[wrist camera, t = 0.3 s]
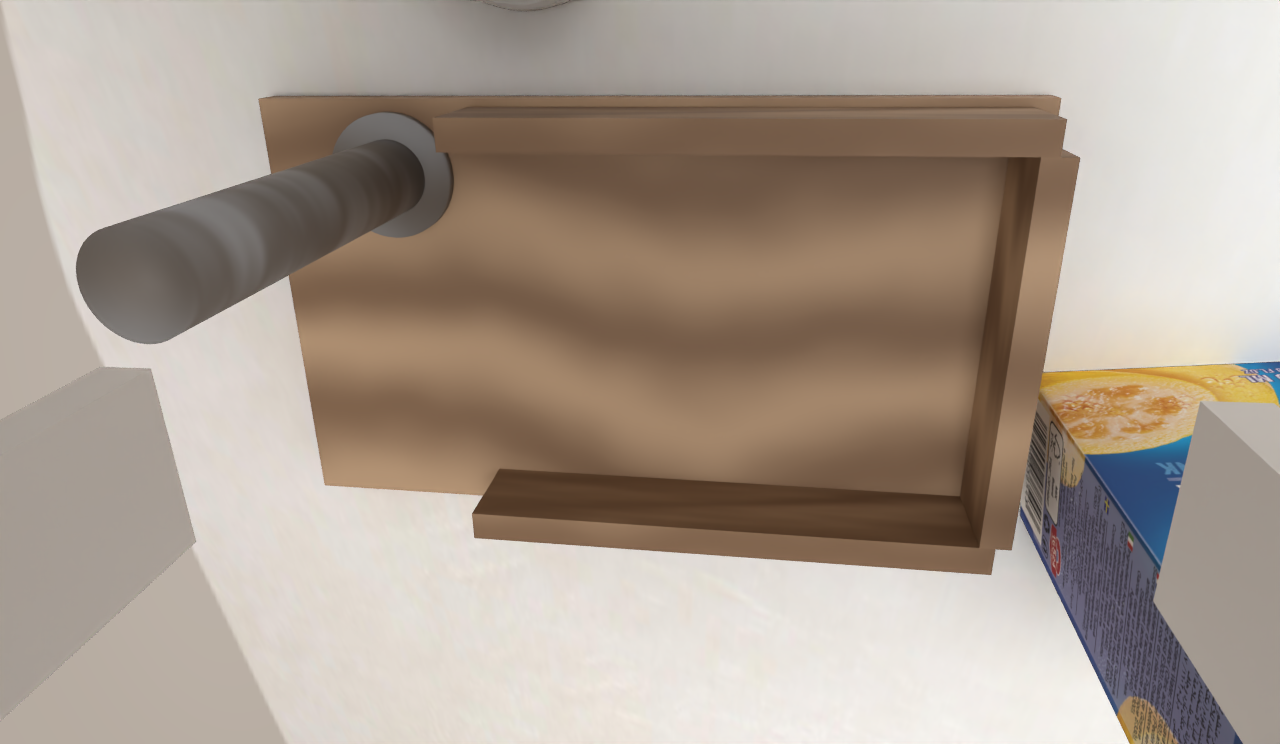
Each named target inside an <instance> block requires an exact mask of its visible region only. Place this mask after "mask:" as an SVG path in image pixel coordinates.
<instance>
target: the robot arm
mask: <svg viewBox="0 0 1280 744" xmlns="http://www.w3.org/2000/svg"><path fill="white" fill-rule="evenodd" d="M195 542H196V539H195V535H194V532H193V528H192V524H191V520H190V516H189V512H188V509H187V505H186V501H185V497H184V493H183V490H182V486H181V482H180V478H179V474H178V470H177V467H176V463H175V459H174V455H173V451H172V448H171V444H170V440H169V436H168V432H167V428H166V425H165V421H164V417H163V413H162V409H161V406H160V402H159V398H158V394H157V390H156V386H155V383H154V379H153V375H152V371H151V369H148V368H116V367H99V368H97V369H95V370H93V371H91V372H90V373H88V374H86V375H84V376H82V377H80V378H78V379H76V380H74V381H73V382H71V383H69V384H67V385H65V386H63V387H61V388H59V389H57V390H56V391H54V392H52V393H50V394H48V395H47V396H44V397H42V398H40V399H39V400H37V401H35V402H33V403H31V404H29V405H27V406H25V407H24V408H22V409H20V410H18V411H16V412H14V413H12V414H10V415H8V416H7V417H5V418H3V419H1V420H0V721H1V720H3V719H4V718H5V717H6V716H7V715H8V714H9V713H10V712H11V711H12V710H13V709H15V708H16V707H17V706H18V705H19V704H20V703H21V702H22V701H23V700H24V699H25V698H26V697H28V696H29V695H30V694H31V693H32V692H33V691H34V690H35V689H36V688H37V687H38V686H39V685H41V684H42V683H43V682H44V681H45V680H46V679H47V678H48V677H49V676H51V675H52V674H53V673H54V672H55V671H56V670H57V669H58V668H59V667H60V666H61V665H62V664H64V663H65V661H67V660H68V659H69V658H70V657H71V656H72V655H73V654H74V653H75V652H77V651H78V650H79V649H80V648H81V647H82V646H83V645H84V644H85V643H86V642H88V641H89V640H90V639H91V638H92V637H93V636H94V635H95V634H96V633H97V632H98V631H99V630H101V629H102V628H103V627H104V626H105V625H106V624H107V623H108V622H109V621H110V620H111V619H113V618H114V617H115V616H116V615H117V614H118V613H119V612H120V611H121V610H122V609H123V608H125V607H126V606H127V605H128V604H129V603H130V602H131V601H132V600H133V599H134V598H135V597H137V596H138V595H139V594H140V593H141V592H142V591H143V590H144V589H145V588H146V587H147V586H148V585H150V583H152V582H153V581H154V580H155V579H156V578H157V577H158V576H159V575H161V574H162V573H163V572H164V571H165V570H166V569H167V568H168V567H169V566H170V565H171V564H173V563H174V562H175V561H176V560H177V559H178V558H179V557H180V556H181V555H182V554H183V553H185V552H186V551H187V550H188V549H189V548H190V547H191V546H192V545H193V544H194V543H195ZM1153 602H1154V603H1155V605H1156V607H1157V608H1158V610H1159V611H1160V613H1161V614H1162V616H1163V618H1164V619H1165V621H1166V622H1167V624H1168V626H1169V627H1170V629H1171V630H1172V632H1173V633H1174V635H1175V637H1176V638H1177V640H1178V641H1179V643H1180V645H1181V646H1182V648H1183V649H1184V651H1185V652H1186V654H1187V656H1188V657H1189V659H1190V660H1191V662H1192V664H1193V665H1194V667H1195V668H1196V670H1197V672H1198V673H1199V675H1200V676H1201V678H1202V679H1203V681H1204V683H1205V684H1206V686H1207V687H1208V689H1209V691H1210V692H1211V694H1212V695H1213V697H1214V698H1215V700H1216V702H1217V703H1218V705H1219V706H1220V708H1221V710H1222V711H1223V713H1224V714H1225V716H1226V717H1227V719H1228V721H1229V722H1230V724H1231V725H1232V727H1233V729H1234V730H1235V732H1236V733H1237V735H1238V736H1239V738H1240V740H1241V741H1242V743H1243V744H1280V408H1279V407H1278V406H1277V405H1276V404H1274V403H1249V402H1217V401H1200V405H1199V409H1198V413H1197V417H1196V422H1195V426H1194V430H1193V434H1192V438H1191V443H1190V447H1189V451H1188V455H1187V460H1186V464H1185V468H1184V472H1183V477H1182V481H1181V485H1180V489H1179V493H1178V498H1177V502H1176V506H1175V510H1174V515H1173V519H1172V523H1171V527H1170V532H1169V536H1168V540H1167V544H1166V548H1165V553H1164V557H1163V561H1162V565H1161V570H1160V574H1159V578H1158V582H1157V587H1156V591H1155V595H1154V599H1153Z"/></svg>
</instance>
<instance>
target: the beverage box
mask: <svg viewBox="0 0 1280 744" xmlns="http://www.w3.org/2000/svg"><path fill="white" fill-rule="evenodd" d="M1200 401H1217V402H1249V403H1274V404H1276V405H1277V406H1278V407H1279V408H1280V362H1266V363H1244V364H1222V365H1200V366H1178V367H1156V368H1134V369H1112V370H1090V371H1068V372H1047V373H1042V379H1041V385H1040V391H1039V396H1038V402H1037V408H1036V413H1035V419H1034V425H1033V431H1032V436H1031V442H1030V448H1029V453H1028V459H1027V465H1026V471H1025V476H1024V482H1023V488H1022V493H1021V503H1020V516H1021V518H1022V520H1023V522H1024V524H1025V526H1026V528H1027V531H1028V533H1029V535H1030V537H1031V539H1032V541H1033V543H1034V545H1035V547H1036V549H1037V551H1038V553H1039V556H1040V558H1041V560H1042V562H1043V564H1044V566H1045V568H1046V570H1047V572H1048V574H1049V576H1050V578H1051V580H1052V583H1053V585H1054V587H1055V589H1056V591H1057V593H1058V595H1059V597H1060V599H1061V601H1062V603H1063V605H1064V608H1065V610H1066V612H1067V614H1068V616H1069V618H1070V620H1071V622H1072V624H1073V626H1074V628H1075V630H1076V633H1077V635H1078V637H1079V639H1080V641H1081V643H1082V645H1083V647H1084V649H1085V651H1086V653H1087V655H1088V657H1089V660H1090V662H1091V664H1092V666H1093V668H1094V670H1095V672H1096V674H1097V676H1098V678H1099V680H1100V682H1101V685H1102V687H1103V689H1104V691H1105V693H1106V695H1107V697H1108V699H1109V701H1110V703H1111V705H1112V707H1113V710H1114V712H1115V714H1116V716H1117V718H1118V720H1119V722H1120V724H1121V726H1122V728H1123V730H1124V732H1125V734H1126V737H1127V739H1128V741H1129V743H1130V744H1243V743H1242V741H1241V740H1240V738H1239V736H1238V735H1237V733H1236V732H1235V730H1234V729H1233V727H1232V725H1231V724H1230V722H1229V721H1228V719H1227V717H1226V716H1225V714H1224V713H1223V711H1222V710H1221V708H1220V706H1219V705H1218V703H1217V702H1216V700H1215V698H1214V697H1213V695H1212V694H1211V692H1210V691H1209V689H1208V687H1207V686H1206V684H1205V683H1204V681H1203V679H1202V678H1201V676H1200V675H1199V673H1198V672H1197V670H1196V668H1195V667H1194V665H1193V664H1192V662H1191V660H1190V659H1189V657H1188V656H1187V654H1186V652H1185V651H1184V649H1183V648H1182V646H1181V645H1180V643H1179V641H1178V640H1177V638H1176V637H1175V635H1174V633H1173V632H1172V630H1171V629H1170V627H1169V626H1168V624H1167V622H1166V621H1165V619H1164V618H1163V616H1162V614H1161V613H1160V611H1159V610H1158V608H1157V607H1156V605H1155V603H1154V602H1153V599H1154V595H1155V591H1156V587H1157V582H1158V578H1159V574H1160V570H1161V565H1162V561H1163V557H1164V553H1165V548H1166V544H1167V540H1168V536H1169V532H1170V527H1171V523H1172V519H1173V515H1174V510H1175V506H1176V502H1177V498H1178V493H1179V489H1180V485H1181V481H1182V477H1183V472H1184V468H1185V464H1186V460H1187V455H1188V451H1189V447H1190V443H1191V438H1192V434H1193V430H1194V426H1195V422H1196V417H1197V413H1198V409H1199V405H1200Z"/></svg>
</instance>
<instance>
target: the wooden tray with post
mask: <svg viewBox="0 0 1280 744" xmlns="http://www.w3.org/2000/svg"><path fill="white" fill-rule="evenodd" d="M1060 103H1061V98H1059V97H1056V96H1053V95H817V96H272V97H266V98H260V99H259V105H260V111H261V117H262V122H263V128H264V134H265V140H266V146H267V151H268V157H269V163H270V169H271V174H270V175H267V176H264V177H261V178H258V179H255V180H252V181H248V182H245V183H242V184H239V185H236V186H233V187H230V188H227V189H224V190H220V191H217V192H214V193H211V194H208V195H205V196H202V197H199V198H196V199H192V200H189V201H186V202H183V203H180V204H177V205H174V206H171V207H168V208H164V209H161V210H158V211H155V212H152V213H149V214H146V215H143V216H140V217H136V218H133V219H130V220H127V221H124V222H121V223H118V224H115V225H112V226H108V227H105V228H103V229H100V230H98V231H96V232H94V233H93V234H91V235H90V236H89V237H88V238H87V239H86V240H85V242H84V243H83V245H82V246H81V248H80V251H79V253H78V257H77V262H76V274H77V281H78V285H79V288H80V291H81V294H82V296H83V298H84V300H85V302H86V304H87V306H88V307H89V309H90V310H91V311H92V313H93V314H94V315H95V316H96V318H97V319H98V320H99V321H100V322H101V323H102V324H103V325H104V326H106V327H107V328H108V329H110V330H111V331H112V332H114V333H115V334H117V335H119V336H121V337H123V338H125V339H127V340H130V341H133V342H137V343H143V344H156V343H162V342H165V341H168V340H169V339H171V338H173V337H175V336H177V335H179V334H181V333H182V332H184V331H186V330H188V329H190V328H192V327H194V326H195V325H197V324H199V323H201V322H203V321H205V320H207V319H208V318H210V317H212V316H214V315H216V314H218V313H220V312H221V311H223V310H225V309H227V308H229V307H231V306H233V305H234V304H236V303H238V302H240V301H242V300H244V299H246V298H247V297H249V296H251V295H253V294H255V293H257V292H258V291H260V290H262V289H264V288H266V287H268V286H270V285H271V284H273V283H275V282H277V281H279V280H281V279H283V278H284V277H286V276H288V275H289V279H290V285H291V291H292V297H293V303H294V309H295V314H296V320H297V326H298V332H299V338H300V343H301V349H302V355H303V361H304V367H305V373H306V378H307V384H308V390H309V396H310V402H311V407H312V413H313V419H314V425H315V431H316V437H317V442H318V448H319V454H320V460H321V466H322V472H323V477H324V483H325V485H330V486H345V487H361V488H376V489H392V490H407V491H423V492H438V493H454V494H469V495H483V497H482V498H481V500H480V502H479V503H478V505H477V507H476V508H475V510H474V511H473V513H472V518H473V528H474V538H482V539H496V540H510V541H524V542H538V543H552V544H566V545H580V546H594V547H608V548H622V549H636V550H650V551H664V552H678V553H692V554H706V555H720V556H733V557H747V558H761V559H775V560H789V561H803V562H817V563H831V564H845V565H859V566H873V567H887V568H901V569H915V570H929V571H943V572H957V573H971V574H985V575H991V573H992V567H993V561H994V555H995V549H1000V550H1012V545H1013V539H1014V533H1015V528H1016V522H1017V516H1018V511H1019V505H1020V499H1021V493H1022V488H1023V482H1024V476H1025V471H1026V465H1027V459H1028V453H1029V448H1030V442H1031V436H1032V431H1033V425H1034V419H1035V413H1036V408H1037V402H1038V396H1039V391H1040V385H1041V379H1042V373H1043V368H1044V362H1045V356H1046V351H1047V345H1048V339H1049V333H1050V328H1051V322H1052V316H1053V311H1054V305H1055V299H1056V293H1057V288H1058V282H1059V276H1060V271H1061V265H1062V259H1063V253H1064V248H1065V242H1066V236H1067V231H1068V225H1069V219H1070V213H1071V208H1072V202H1073V196H1074V191H1075V185H1076V179H1077V173H1078V168H1079V162H1080V157H1078V156H1076V155H1073V154H1071V153H1069V152H1067V151H1065V150H1063V149H1062V147H1063V141H1064V135H1065V129H1066V123H1067V119H1065V118H1062V117H1059V116H1058V115H1059V109H1060Z"/></svg>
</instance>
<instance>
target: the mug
mask: <svg viewBox="0 0 1280 744" xmlns="http://www.w3.org/2000/svg"><path fill="white" fill-rule="evenodd" d="M474 1H483V2H485V3H487V4H490V5H493V6H496V7H500V8H504V9H509V10H517V11H532V10H540V9H545V8H549V7H552V6H555V5H558V4H563V3H566V2H568V1H570V0H474Z"/></svg>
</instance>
